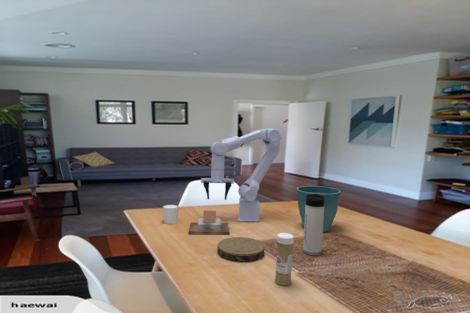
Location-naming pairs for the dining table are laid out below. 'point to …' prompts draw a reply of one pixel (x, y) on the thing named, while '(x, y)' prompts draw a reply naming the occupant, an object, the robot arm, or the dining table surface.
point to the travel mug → (313, 224)
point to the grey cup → (170, 214)
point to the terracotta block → (209, 215)
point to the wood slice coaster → (240, 249)
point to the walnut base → (200, 232)
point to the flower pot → (329, 203)
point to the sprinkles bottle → (284, 258)
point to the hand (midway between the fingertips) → (216, 199)
